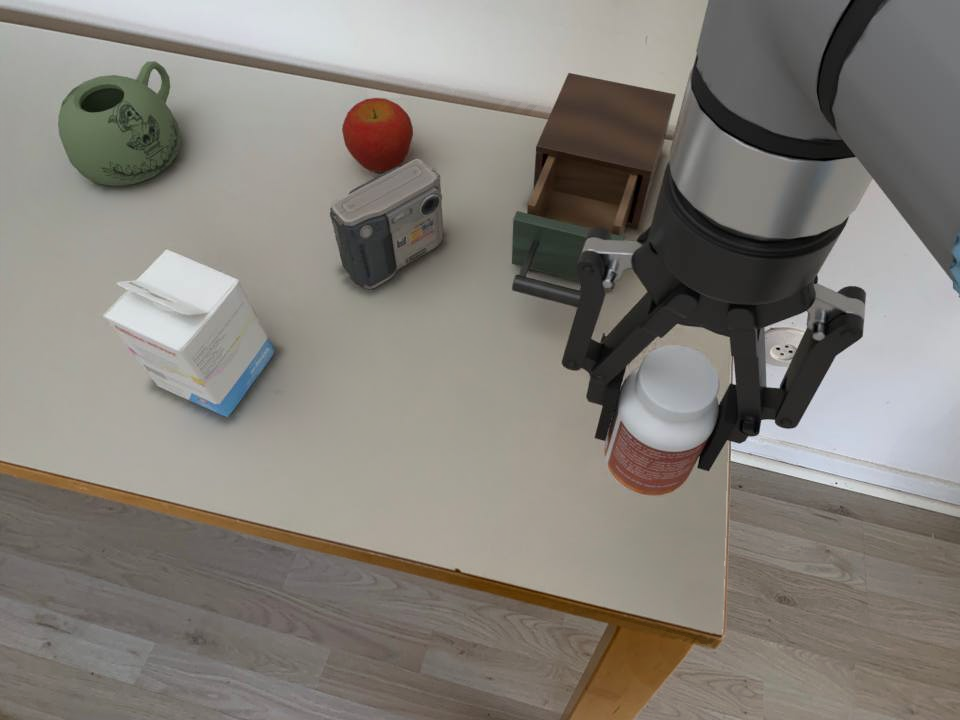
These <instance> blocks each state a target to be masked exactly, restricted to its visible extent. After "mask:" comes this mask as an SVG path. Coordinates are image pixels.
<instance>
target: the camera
mask: <svg viewBox="0 0 960 720" xmlns="http://www.w3.org/2000/svg"><path fill="white" fill-rule="evenodd" d="M440 177H441V175H440V173H439V172H438V171H437V170H436V169H435V168H434V167H433V168H431V167H430V166H428V164H426V163H425V162H424V161H423V160H422V159H420V158H416V159H413V160H411V161H409V162H407V163H405V164H403V165H402V166H401V165H399V166H396V167H394V168H392V169H390V170H389V171H384V172H382V173H381V174H380V175H378V176H376V177H374V178H372V179H370V180H368V181H366V182H365V183H362V184H361V185H359V186H357V187H355V188H353V189H352V190H350V191H349V193H348V194H347V195H345V196H343V197H342V198H340V199H338V200H335V201H334V202H333V203H332V204H331V207H330V209H329V217H330V219H331V223H332V227H333V233H334V235H335V236H334V237H335V240H336V243H337V248H338V252H339V257H340V261H341V265H342V267H343V269H344V270H345V271H346V272H347V274H348V275H349V277H350V278H351V280H352V282H354V283H355V284H357V285H359V286H361V287H363V288H364V289H367V290H373V289H375V288H378V287H379V286H381V285H383V284H384V283H386V282H388V281H389V280H390V279H392V278H394V277H395V276H396V273H397V271H398V270H400V269H401V268H403V267H405V266H406V265H408V264H410V263H412V262H414V261H415V260H417V259H419V258H420V257H422V256H423V255H425V254H427V253H429V252H430V251H432V250H434V249H436V248H437V247H438V246H439V245H440V244H441V243H442V241H443V239H444V222H443V220H444V219H443V206H442V201H443V193H442V189H441V188H442V187H441V178H440Z"/></svg>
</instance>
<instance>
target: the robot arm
mask: <svg viewBox="0 0 960 720" xmlns="http://www.w3.org/2000/svg"><path fill="white" fill-rule="evenodd" d="M695 51H696V54H695V59H694V61H693V62H694V63H693V66H692V68H691V69H690V72H689V75H688V78H687V81H686V85H685V90H684V93H683V97H682V101H681V106H680V108H679V109H680V110H679V114H678V117H677V120H676V125H675V129H674V133H673V137H672V141H671V144H670V150H669V158H668V162H667V164H666V166H665V169H664V173H663V177H662V181H661V183H660V188H659V191H658V196H657V200H656V204H655V208H654V212H653V216H652V219H651V222H650V223H651V224H650V226H649V227H648V228H647V229H646V230H644V231H642V232H641V233H640V234H639V235H638V237H637V239H636V240H625V241H621V240H612V236H611V234H610V232H609V231H608V230H607V229H605V228H603V227H593V228H591V229H590V230H589V231H588V234H587V237H586V240H585V243H584V246H583V249H582V252H581V254H580V257H579V260H578V263H577V266H576V271H577V275H578V279H579V281H578V282H579V288H581V291H582V293H581V296H580V300H579V303H578V307H576V310H575V314H574V317H573V321H572V324H571V327H570V331H569V334H568V339H567V341H566V345H565V348H564V352H563V355H562V359H561V365H562V366H563V368H565V369H566V370H569V371H573V372H576V371H581V369H582V370H584V371H585V372H587V373H588V375H589V381H588V386H587V390H586V396H585V397H586V400H587V402H588V403H592V404H596V405H600V406H602V407H601V411H600V414H599V418H598V422H597V426H596V430H595V434H594V439H596V440H598V441H599V440H600V441H603V442H606V438H607V434H608V431H609V427H610V424H611V420H612V416H613V413H614V409H615V406H616V402H617V399H618V395H619V392H620V389H621V386H622V384H623V382H624V381H623V380H624V377H625V373H626V369H627V367H628V365H629V364H630V363H632V361H634V359H636V358H637V357H638V356H639V355H640V354H641V353H642V352H644V350H645V349H646V348H647V347H648V346H649V345H650V344H652V342H654V341H655V340H656V339H657V338H660V339H663V338H664V337H665V336H666V335H667V334H668V333H669V332H670V331H671V330H673V328H675V326H677V325H680V326H684V327H691V328H702V329H704V330H706V331H709V332H711V333H714V334H716V335H719V336H723V337H728V338H729V347H730V355H731V357H733V368H734V377H735V378H734V379H735V384H734V383H729V385H728V386H727V388H726V390H725V393H724V395H723V396H722V398H721V400H720V402H719V403H718V404H719V415H718V420H717V423H716V425H715V427H714V430H713V432H712V433H711V435H710V437H709V439H708V441H707V443H706V445H705V447H704V449H703V450H702V453H701V454H700V456H699V458H698V461H697V467H696V468H697V469H699V470H702V471H706V472H710V471H711V469H712V467H713V465H714V464H715V462H716V460H717V458H718V457H719V456H720V454H721V451H722V450H723V448H724V446H725V445H726V443H727V442H733V443H736V444H739V445H740V444H742V443H745V442H746V441H747V439H748V437H753V438H754V437H757V436H759V435H760V430H761V425H762V421H765V420H769V421H770V420H771V421H774V424H775V425H776V426H777V427H779V428H782V429H785V430H786V429H788V430H791V429H794V428H795V429H796V428H797V427H798V425H799V424H800V422H801V420H802V419H803V416H804V414H805V413H806V411H807V410H808V408H809V405H810V404H811V402H812V401H813V398H814V397H815V394H817V391H818V389H819V388H820V386H821V384H822V382H823V380H824V379H825V376H826V375H827V373H828V371H829V369H830V368H831V366H832V364H833V362H834V361H835V359H836V357H837V356H838V355H840V354H841V353H843V352H844V351H845V350H847V349H848V348H850V347H851V346H852V345H854V344H855V343H857V342H859V341H860V340H861V339H862V338H863V336H864V327H865V318H866V317H865V315H866V299H867V292H866V291H865V289H863V288H862V287H860V286H856V285H848V286H844V287H842V288H840V289H839V290H837V291H835V290H834V289H831V288H830V287H826V286H824V285H822V284H820V283H818V282H819V276H818V275H819V273H820V271H821V269H822V267H823V266H824V264H825V262H826V260H827V259H828V258H829V256H830V254H831V252H832V250H833V248H834V246H835V245H836V243H837V241H838V240H839V238H840V237H841V234H842V233H843V231H844V230H845V228H846V226H847V223H848V220H849V218H850V216H851V215H852V213H854V212H855V211H856V209H857V208H858V206H859V204H860V202H861V200H862V199H863V198H864V196H865V194H866V191H867V190H868V188H869V187H870V184H871V183H872V181H874V182H875V183H876V185H877V186H878V188H880V189H881V191H882V192H883V194H884V195H885V197H886V198H887V199H888V200H889V201H890V203H891V204H892V205H893V207H894V208H895V209H896V210H897V212H898V214H900V216H901V217H902V218H903V219H904V221H905V222H906V223H907V225H908V226H909V227H910V228H911V230H912V231H913V232H914V233H915V235H916V236H917V238H918V239H919V240H920V242H921V243H922V244H923V246H924V247H925V248H926V250H927V251H928V252H929V253H930V254H931V256H932V257H933V258H934V260H935V261H936V262H937V264H938V265H939V266H940V267H941V269H942V270H943V271H944V273H945V275H947V277H948V278H949V279H950V280H951V282H952V289H953V290H954V291H955V292H957V294H958V298H960V0H707V5H706V9H705V12H704V17H703V22H702V25H701V29H700V34H699V39H698V42H697V46H696V50H695ZM631 269H632V270H633V271H632V272H634V274H635V275H636V277H637V278H638V280H639V281H640V283H641V285H642V286H643V287H644V289H645V290H646V292H645V294H644V295H642V297H641V298H640V299H639V300H638V301H637V302H636V303H635V304H634V306H633V307H632V308H631V309H630V310H629V311H628V312H627V313H626V314H625V315H624V316H623V317H622V319H621V320H620V321H619V322H618V323H617V324H616V325H615V326H614V327H613V328H612V329H611V330H610V331H609V333H607V335H606V333H605V332H603V333H602V336H601V339H600V341H599V342H598V341H597V340H595V339H593V338H592V337H593V334H594V331H595V329H596V325H597V322H598V320H599V317H600V314H601V311H602V308H603V305H604V301H605V299H606V295H607V293H608V290H609V289H608V288H611V287H612V286H613V284H614V282H615V283H616V282H619V281H620V280H622V279H623V275H624V273H625V271H627V270H631ZM805 312H806V313H807V316H806V317H807V318H806V329H805V331H804V333H803V335H802V337H801V339H800V342H799V343H798V346H797V348H796V350H795V352H794V354H793V356H792V358H791V361H790V362H789V365H788V367H787V370H786V371H785V373H784V376H783V378H782V380H781V382H780V384H779V387H772V386H771V387H769V386H767V359H766V358H767V357H766V331H765V329H766V328H767V327H770V326H772V325H775V324H777V323H780V322H782V321H786V320H788V319H790V318H793V317H796V316H799V315H801V314H803V313H805Z"/></svg>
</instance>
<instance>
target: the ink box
mask: <svg viewBox="0 0 960 720" xmlns="http://www.w3.org/2000/svg"><path fill="white" fill-rule="evenodd" d="M116 286H118V287H121V288H123V289H125V291H124V293H122V294H121V295H120V297H119V298H118V299H116V301H115V302H114V303H113V304H112V305H111V306H110V307H109V308H108V309H107V310H106V311H105V312H104V314H102V317H103V318H104V319H105V320H106V321H107V323H108V324H109V325H110V327H111V328H112V329H113V330H114V332H115V333H116V334H117V335H118V337H119V338H120V339H121V340H122V342H123V343H124V344H125V347H127V349H128V350H129V351H130V352H131V354H132V355H133V356H134V358H135V359H136V360H137V362H138V363H139V364H140V365H141V366H142V368H143V369H144V370H145V372H146V373H147V374H148V375H149V376H150V378H151V379H152V381H153V382H154V383H155V385H156V386H157V387H158V388H161V389H163V390H165V391H166V392H170V393H172V394H173V395H176V396H178V397H180V398H183V399H185V400H187V401H189V402H192V403H194V404H196V405H198V406H200V407H203V408H204V409H207V410H210V412H211V411H212V412H214V413H216V414H218V415H221V416H223V417H225V418H229V417H230V416H231V414H232V413H233V411H234V410H235V408H236V407H237V406H238V405H239V403H240V402H241V400H242V399H243V398H244V396H245V395H246V393H247V392H248V391H249V389H250V388H251V387H252V385H253V384H254V382H255V381H256V380H257V379H258V377H259V376H260V374H261V373H262V372H263V371H264V369H265V368H266V366H267V364H268V363H269V362H270V360H271V359H272V357H273V356H274V354H275V352H276V351H275V348H274V347H273V345H272V342H271V341H270V339H269V337H268V335H267V333H266V331H265V330H264V328H263V326H262V324H261V322H260V319H259V318H258V315H257V313H256V312H255V309H254V308H253V306H252V303H251V302H250V300H249V298H248V296H247V294H246V292H245V290H244V288H243V285H242V283H241V282H240V280H239V279H238V278H236V277H233V276H231V275H228V274H226V273H224V272H221V271H220V270H217V269H214V268H212V267H210V266H207V265H206V264H203V263H201V262H199V261H196V260H194V259H191V258H189V257H186V256H184V255H181V254H179V253H178V252H175V251H173V250H170V249H164V250H163V251H161V252H160V255H158V256H157V257H156V258H155V260H154V261H152V263H150V265H148V266H147V268H146V269H145V270H144V271H143V272H142V273H141V274H140V276H139V277H137V278H136V279H132V280H125V281H117V282H116Z"/></svg>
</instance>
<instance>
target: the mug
mask: <svg viewBox="0 0 960 720" xmlns="http://www.w3.org/2000/svg"><path fill="white" fill-rule="evenodd" d="M153 70H156V71H157V73H158V75H159V76H160V80H161V84H160V88H159V89H158V92H157V93H156V91H155V90H153V89H152V88H150V87H149V82H150V81H149V80H150V77H151V73H152V72H153ZM170 89H171V81H170V76H169V74H168V72H167V70H166V68H165V67H164V66H162V64H160V63H159V62H157V61H156V60H155V61H152V60H151V61H146V62H145V63H144V64H143V65H142V66H141V68H140V71H139V73H138V75H137V77H136V78H132V77H129V76H124V75H123V76H122V75H117V74H110V75H109V74H108V75H100V76H97V77H94V78H91V79H87V80H85V81H83V82H82V83H80V84H78V85H76V86H75V87H74V88H72V89H71V90H70V92H69V93H68V94H67V95H66V96H65V98H64V99H63V100H62V102H61V105H60V109H59V113H58V117H57V118H58V119H57V120H58V121H57V127H58V135H59V138H60V140H61V144H62V145H63V148H64V151H65V153H66V155H67V158H68V160H69V162H70V164H71V165H72V166H73V167H74V168H75V169H76V170H77V171H78V173H79V174H80V175H82V176H84V177H85V178H86V179H88V180H90V181H91V182H93V184H100V185H104V186H105V185H106V186H110V187H117V186H127V185H136V184H139V183H141V182H145V181H148V180H150V179H152V178H154V177H155V176H157V175H158V174H160V173H161V172H162V171H164V170H165V169H166V168H167V167H169V166H170V165H171V164H172V162H173V161H174V160H175V158H176V156H177V155H178V153H179V152H180V150H181V142H182V141H181V139H182V136H181V131H180V126H179V123H178V121H177V119H176V117H175V116H174V114H173V112H172V111H171V109H170V108H169V106H168V105H167V100H168V98H169V95H170V91H171V90H170Z"/></svg>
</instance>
